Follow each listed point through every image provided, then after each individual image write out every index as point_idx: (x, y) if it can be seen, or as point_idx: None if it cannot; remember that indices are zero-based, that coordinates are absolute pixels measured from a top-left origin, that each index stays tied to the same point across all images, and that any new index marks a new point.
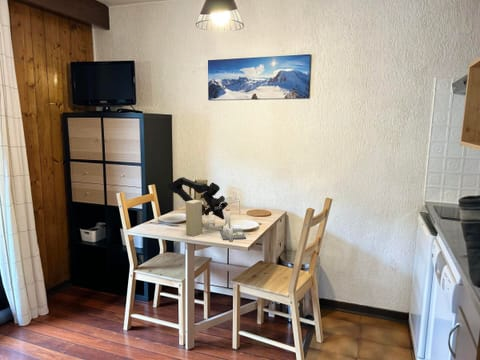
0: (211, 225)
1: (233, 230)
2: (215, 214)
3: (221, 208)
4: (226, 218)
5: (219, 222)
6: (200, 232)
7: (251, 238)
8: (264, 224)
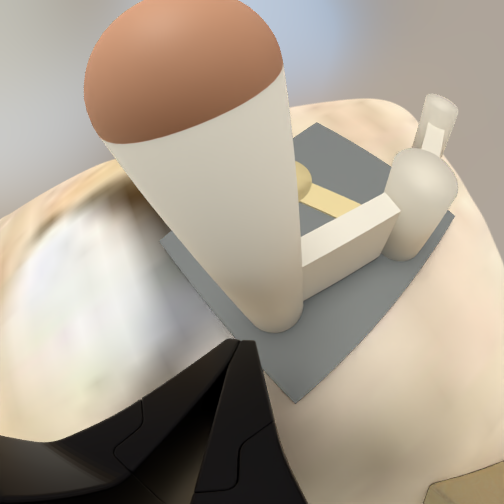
0: None
1: None
2: None
3: (15, 476)
4: (299, 225)
5: None
6: (457, 482)
7: None
8: (53, 203)
